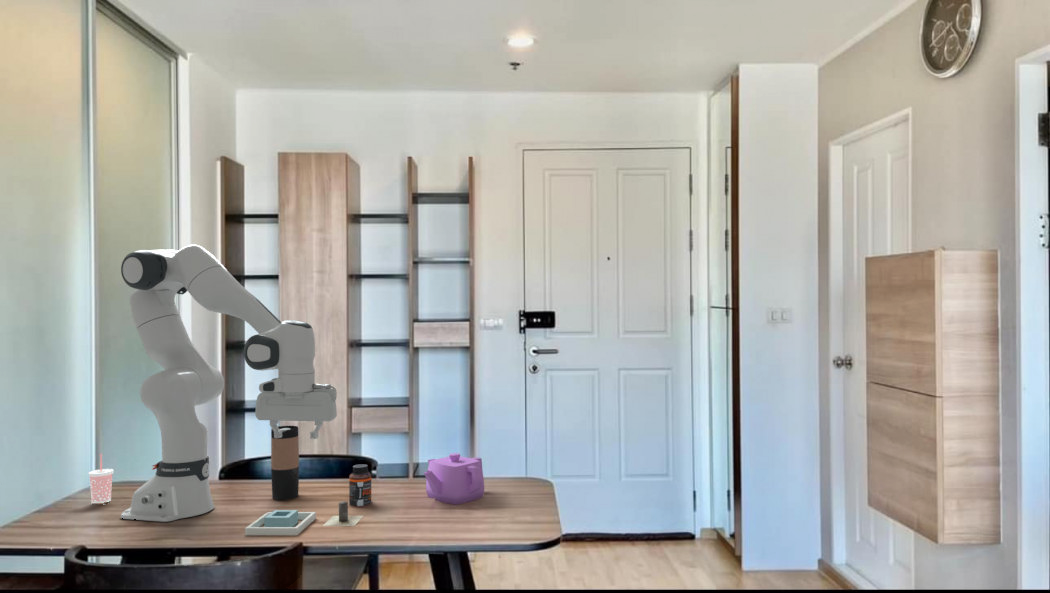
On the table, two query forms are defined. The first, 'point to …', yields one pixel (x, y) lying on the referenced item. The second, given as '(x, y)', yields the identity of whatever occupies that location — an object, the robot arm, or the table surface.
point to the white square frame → (257, 530)
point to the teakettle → (455, 479)
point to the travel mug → (285, 463)
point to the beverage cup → (101, 484)
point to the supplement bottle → (360, 486)
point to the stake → (343, 517)
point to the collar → (281, 518)
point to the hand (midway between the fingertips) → (296, 438)
